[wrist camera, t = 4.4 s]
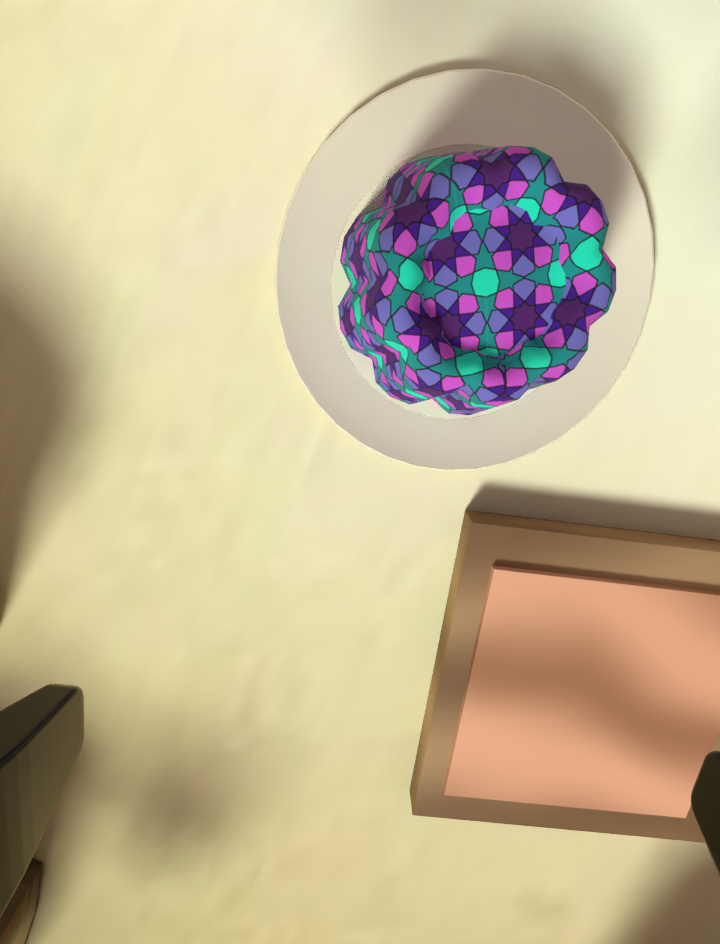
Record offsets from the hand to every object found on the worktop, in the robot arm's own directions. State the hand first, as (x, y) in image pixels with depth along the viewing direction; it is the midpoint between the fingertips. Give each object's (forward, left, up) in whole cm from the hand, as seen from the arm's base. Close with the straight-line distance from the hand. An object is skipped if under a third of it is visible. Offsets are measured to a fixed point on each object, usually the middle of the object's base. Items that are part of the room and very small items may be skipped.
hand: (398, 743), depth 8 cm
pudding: (+7, -2, -13) cm, 15 cm away
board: (-7, -15, -12) cm, 20 cm away
